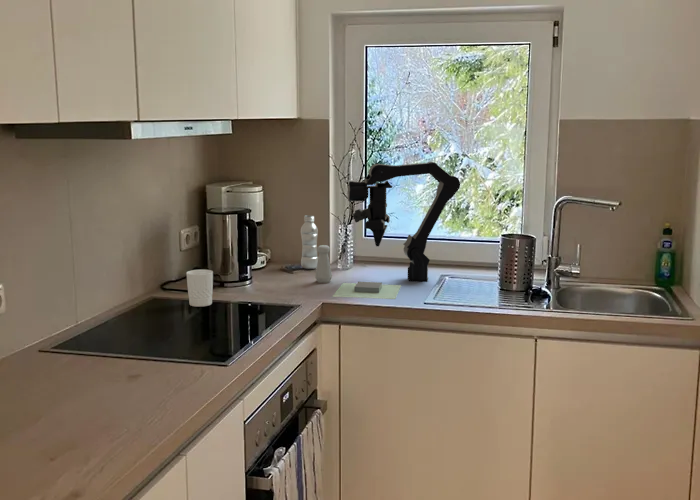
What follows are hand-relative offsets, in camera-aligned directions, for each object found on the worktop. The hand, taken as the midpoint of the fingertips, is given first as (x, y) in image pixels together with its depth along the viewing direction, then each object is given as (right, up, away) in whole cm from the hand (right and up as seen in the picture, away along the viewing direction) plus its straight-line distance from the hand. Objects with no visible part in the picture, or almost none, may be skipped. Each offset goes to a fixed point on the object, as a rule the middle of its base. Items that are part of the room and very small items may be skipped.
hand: (377, 246), depth 259 cm
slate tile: (-3, -13, -8) cm, 16 cm away
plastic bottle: (-25, -9, +24) cm, 36 cm away
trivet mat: (-4, -15, -13) cm, 20 cm away
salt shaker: (-19, -13, 0) cm, 23 cm away
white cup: (-55, -18, -30) cm, 65 cm away
